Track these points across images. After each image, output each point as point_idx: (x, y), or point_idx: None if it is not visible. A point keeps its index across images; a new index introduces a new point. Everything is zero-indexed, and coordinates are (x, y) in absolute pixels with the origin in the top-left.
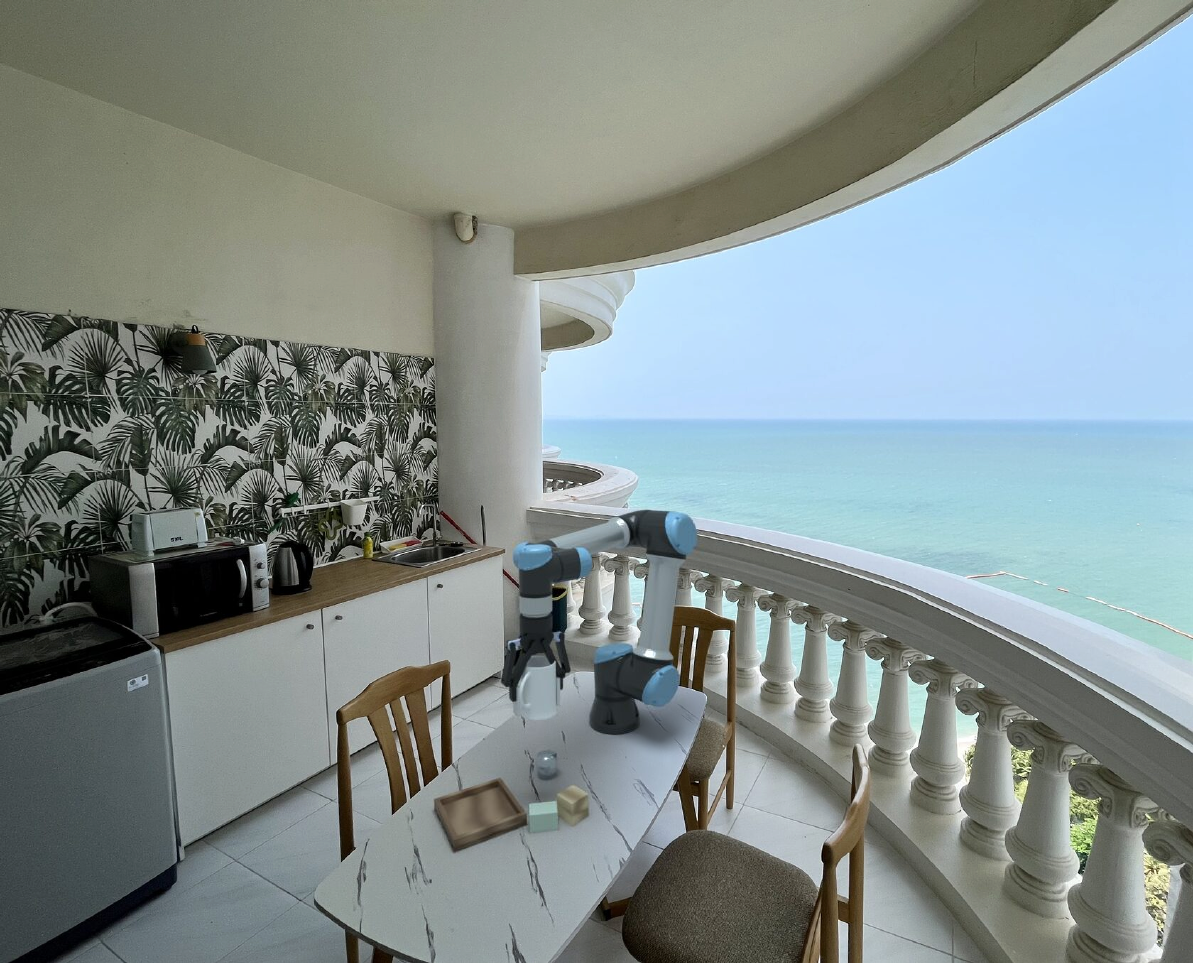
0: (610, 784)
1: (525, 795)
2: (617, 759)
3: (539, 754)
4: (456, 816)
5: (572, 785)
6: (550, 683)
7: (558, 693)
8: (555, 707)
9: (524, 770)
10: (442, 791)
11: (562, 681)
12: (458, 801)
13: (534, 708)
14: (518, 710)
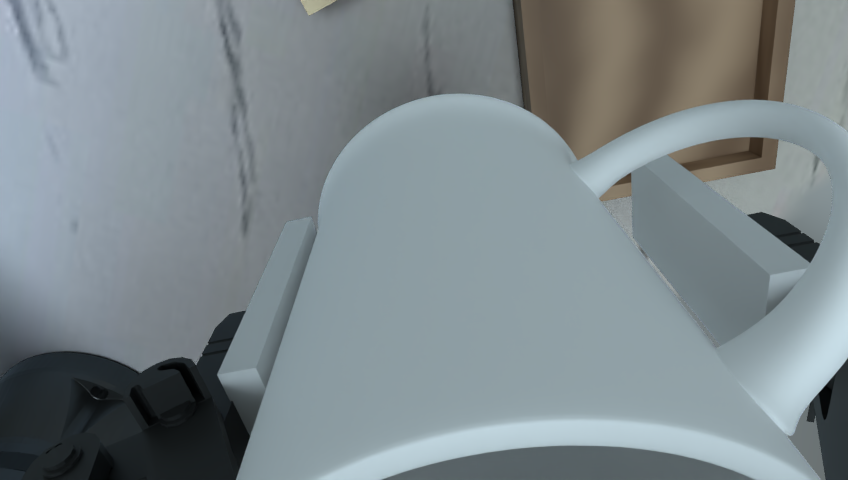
0: (158, 84)
1: None
2: (108, 221)
3: None
4: (722, 76)
5: (311, 12)
6: (374, 250)
7: (279, 272)
8: (334, 184)
9: None
10: None
11: (202, 367)
12: (689, 154)
13: (540, 144)
14: (672, 168)
